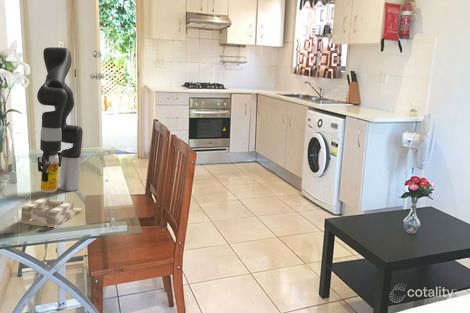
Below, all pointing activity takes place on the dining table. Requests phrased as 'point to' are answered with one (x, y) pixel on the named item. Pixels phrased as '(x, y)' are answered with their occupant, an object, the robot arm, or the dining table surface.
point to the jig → (48, 212)
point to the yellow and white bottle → (51, 175)
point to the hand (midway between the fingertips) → (49, 179)
